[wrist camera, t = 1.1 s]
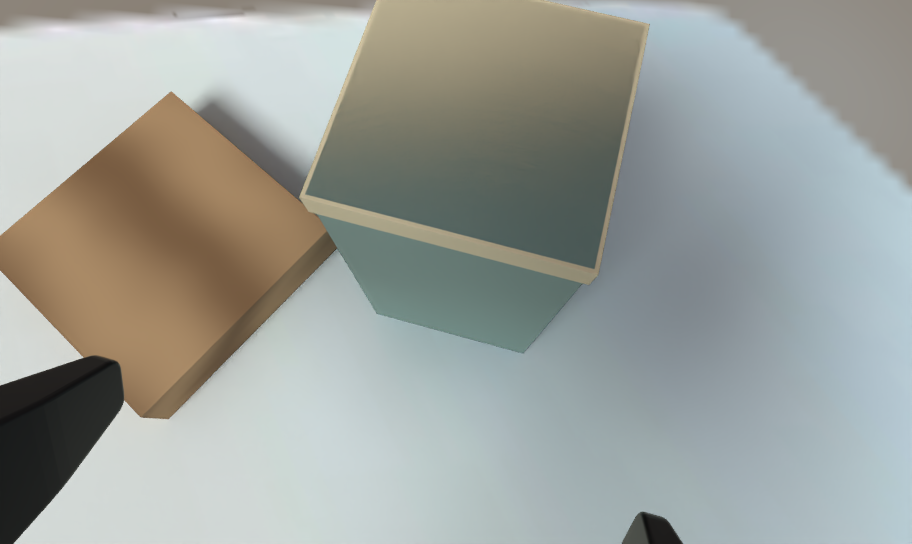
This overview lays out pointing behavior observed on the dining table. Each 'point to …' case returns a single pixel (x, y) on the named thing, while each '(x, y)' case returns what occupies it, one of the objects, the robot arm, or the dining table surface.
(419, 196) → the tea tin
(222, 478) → the dining table surface
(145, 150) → the block
